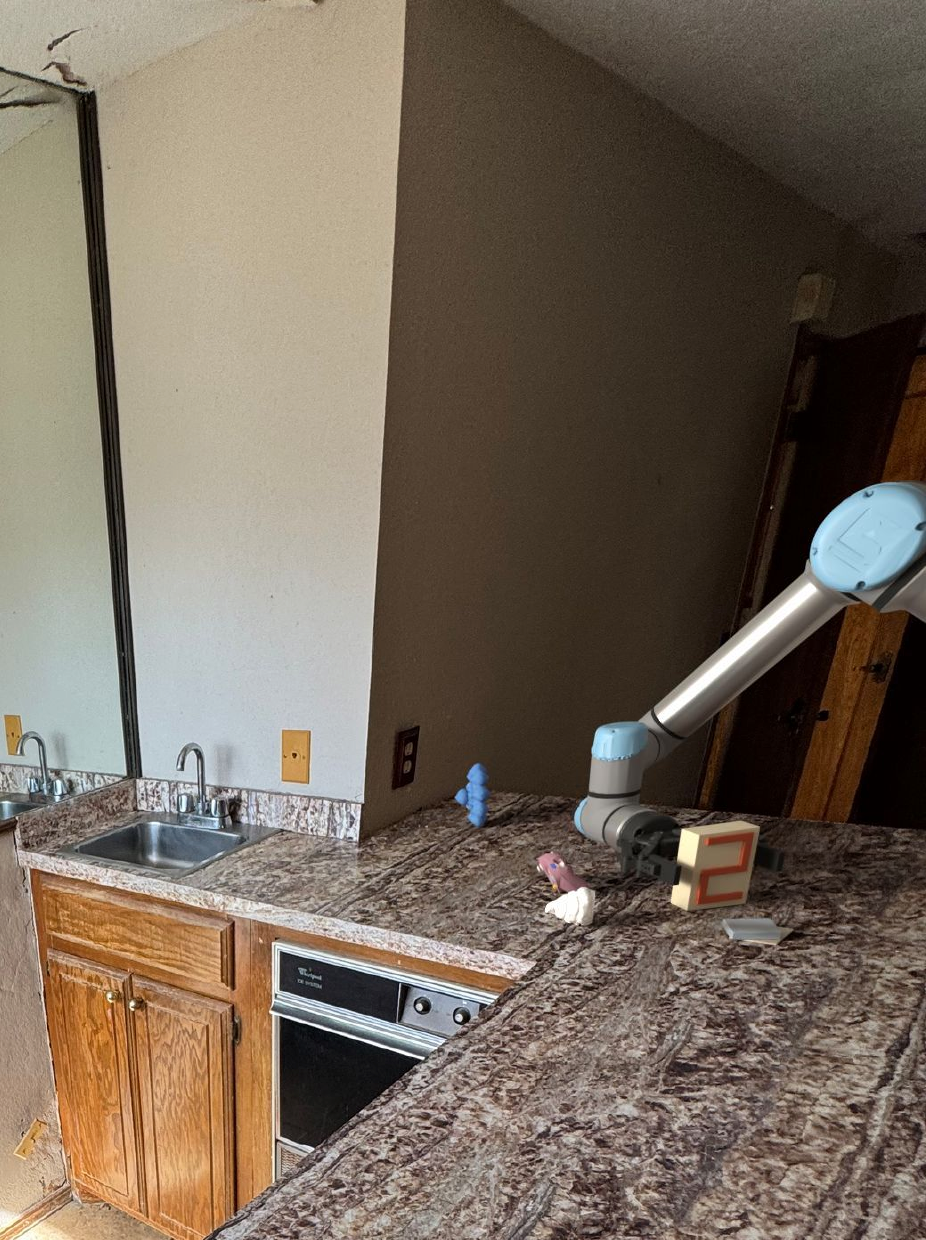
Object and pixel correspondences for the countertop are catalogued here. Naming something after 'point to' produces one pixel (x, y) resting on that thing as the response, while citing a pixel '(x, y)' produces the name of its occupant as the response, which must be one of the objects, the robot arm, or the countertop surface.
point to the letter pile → (755, 930)
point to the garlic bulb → (574, 906)
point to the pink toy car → (560, 873)
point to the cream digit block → (715, 865)
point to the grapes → (475, 795)
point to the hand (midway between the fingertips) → (729, 869)
